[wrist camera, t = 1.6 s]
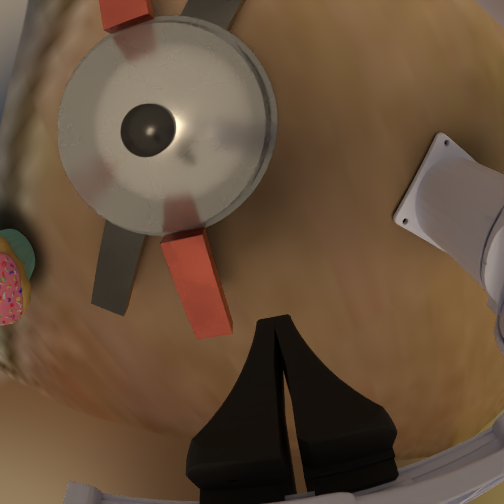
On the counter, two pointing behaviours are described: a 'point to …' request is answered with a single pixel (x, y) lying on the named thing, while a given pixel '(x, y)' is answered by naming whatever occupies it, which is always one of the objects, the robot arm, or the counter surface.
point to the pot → (132, 241)
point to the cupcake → (14, 275)
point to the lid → (164, 141)
